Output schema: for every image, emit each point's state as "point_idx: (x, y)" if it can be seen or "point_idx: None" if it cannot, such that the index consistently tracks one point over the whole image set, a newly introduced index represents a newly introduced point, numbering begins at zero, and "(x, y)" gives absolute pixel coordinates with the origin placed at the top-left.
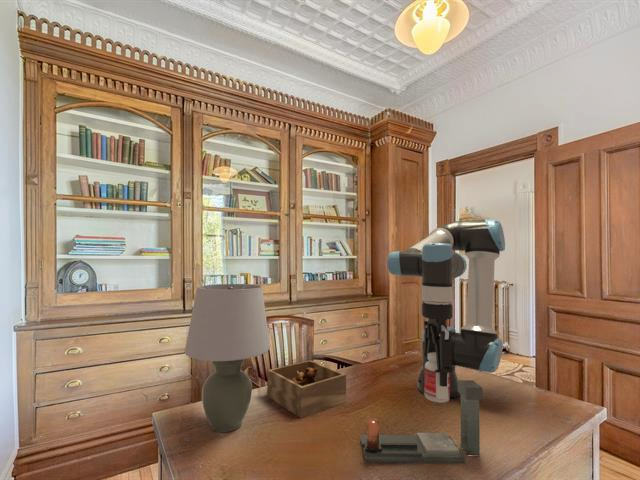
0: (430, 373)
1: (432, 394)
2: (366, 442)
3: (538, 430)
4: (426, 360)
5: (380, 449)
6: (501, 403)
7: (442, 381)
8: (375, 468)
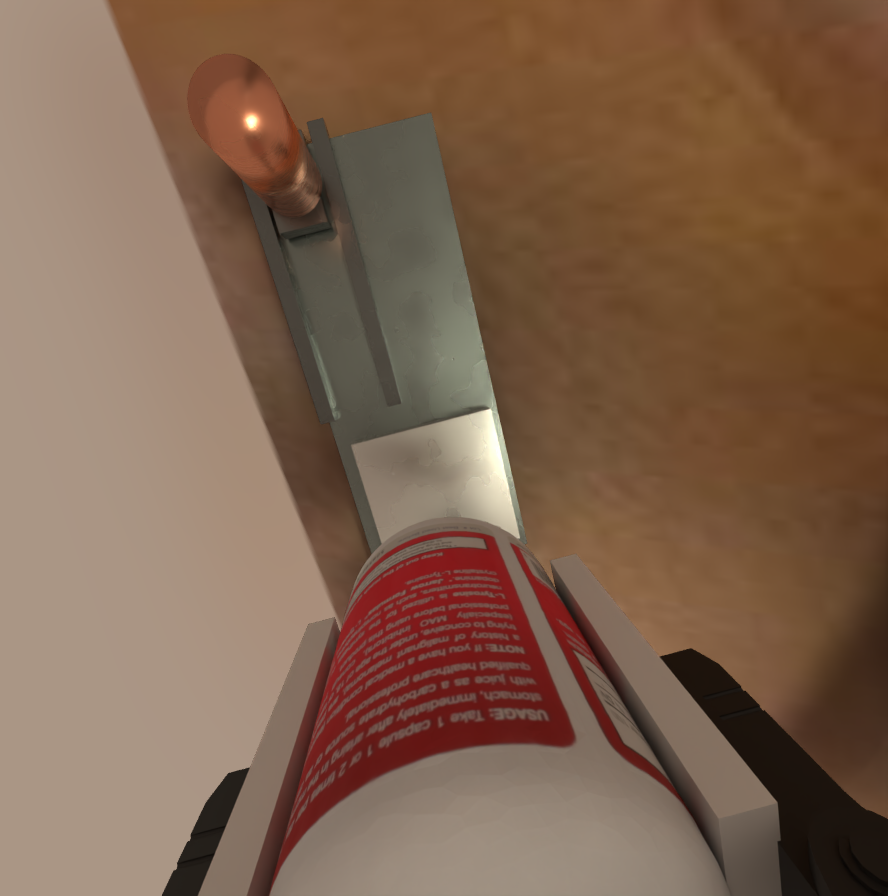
0: (316, 779)
1: (350, 601)
2: (365, 153)
3: None
4: (854, 820)
5: (279, 227)
6: (875, 762)
7: (186, 861)
8: (231, 222)
